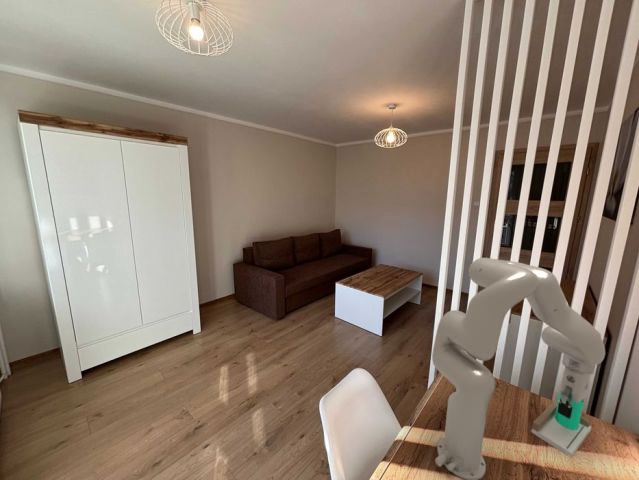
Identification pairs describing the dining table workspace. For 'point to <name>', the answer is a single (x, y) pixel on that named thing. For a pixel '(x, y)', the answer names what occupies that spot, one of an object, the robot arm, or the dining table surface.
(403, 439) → the dining table surface
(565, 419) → the candle
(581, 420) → the jig board
